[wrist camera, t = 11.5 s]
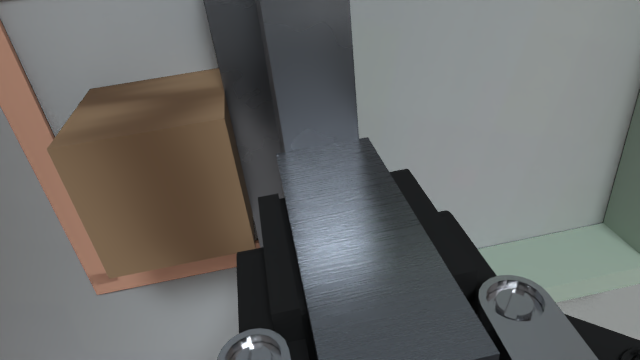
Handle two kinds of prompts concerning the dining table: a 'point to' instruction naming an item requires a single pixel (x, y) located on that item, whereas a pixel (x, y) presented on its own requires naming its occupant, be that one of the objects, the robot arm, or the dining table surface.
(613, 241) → the sage pen
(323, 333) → the rake
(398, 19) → the dining table surface
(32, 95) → the terracotta bay outline
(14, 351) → the dining table surface
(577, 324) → the robot arm
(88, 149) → the walnut block
